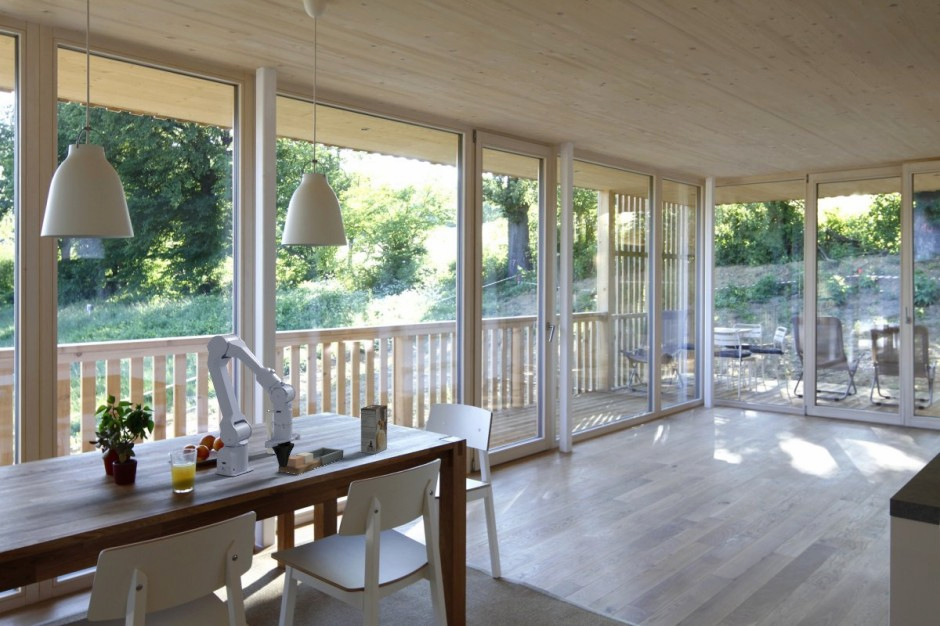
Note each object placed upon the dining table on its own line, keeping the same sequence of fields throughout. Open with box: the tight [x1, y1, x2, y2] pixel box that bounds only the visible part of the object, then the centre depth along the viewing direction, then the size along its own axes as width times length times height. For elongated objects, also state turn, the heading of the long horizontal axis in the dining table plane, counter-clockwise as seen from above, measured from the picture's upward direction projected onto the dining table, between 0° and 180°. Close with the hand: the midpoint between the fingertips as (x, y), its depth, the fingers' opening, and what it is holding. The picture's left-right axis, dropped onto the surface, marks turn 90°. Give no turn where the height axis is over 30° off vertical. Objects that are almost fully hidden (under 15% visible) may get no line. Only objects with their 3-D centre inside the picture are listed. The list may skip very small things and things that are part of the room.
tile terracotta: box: [287, 455, 304, 467], centre depth 237 cm, size 4×4×2 cm
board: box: [278, 459, 323, 475], centre depth 240 cm, size 12×8×2 cm, turn 155°
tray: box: [306, 447, 344, 467], centre depth 251 cm, size 12×9×3 cm
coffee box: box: [360, 404, 388, 455], centre depth 266 cm, size 9×6×16 cm
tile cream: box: [295, 451, 313, 464], centre depth 241 cm, size 4×4×2 cm
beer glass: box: [265, 409, 275, 455], centre depth 261 cm, size 7×7×15 cm
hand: (283, 466), depth 232 cm, fingers closed
